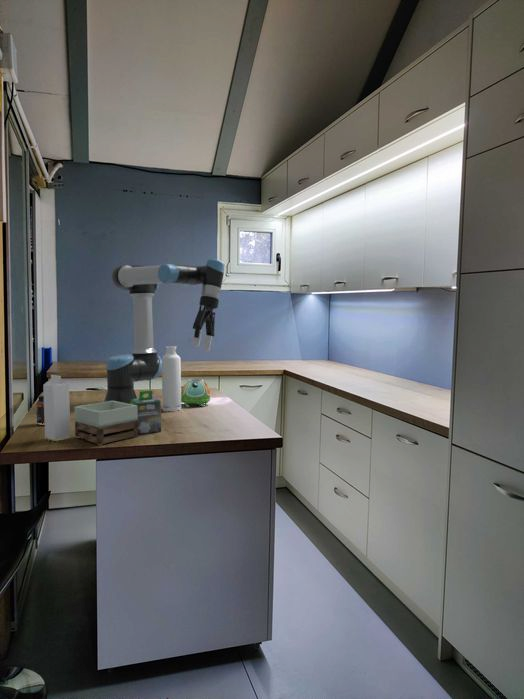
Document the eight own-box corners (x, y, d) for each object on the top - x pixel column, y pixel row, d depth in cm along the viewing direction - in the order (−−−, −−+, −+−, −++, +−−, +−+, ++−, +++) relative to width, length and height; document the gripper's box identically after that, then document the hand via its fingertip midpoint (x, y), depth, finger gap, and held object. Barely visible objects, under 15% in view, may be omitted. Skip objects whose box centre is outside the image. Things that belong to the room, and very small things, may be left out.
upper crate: (74, 420, 173) (74, 406, 172) (113, 414, 184) (112, 400, 184) (99, 427, 163) (98, 412, 163) (137, 419, 174) (137, 405, 174)
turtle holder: (172, 403, 239) (172, 378, 238) (210, 402, 240) (210, 377, 239) (169, 408, 226) (169, 382, 225) (210, 407, 228) (210, 381, 227)
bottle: (162, 408, 226) (161, 346, 224) (180, 407, 227) (179, 345, 225) (162, 411, 218) (161, 347, 216) (181, 411, 219) (180, 347, 217)
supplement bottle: (57, 423, 196) (56, 394, 195) (46, 426, 191) (44, 397, 190) (44, 422, 198) (43, 393, 197) (33, 425, 193) (32, 396, 192)
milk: (60, 436, 176) (59, 373, 175) (70, 438, 173) (69, 374, 171) (44, 439, 171) (42, 375, 170) (54, 442, 168) (52, 376, 166)
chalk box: (155, 426, 190) (154, 387, 189) (162, 431, 182) (161, 391, 181) (130, 429, 186) (129, 389, 185) (136, 434, 178) (135, 393, 177)
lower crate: (75, 438, 173) (74, 420, 173) (113, 430, 185) (113, 414, 184) (99, 445, 164) (99, 427, 163) (138, 436, 175) (137, 419, 174)
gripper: (209, 290, 191) (200, 345, 189) (226, 305, 216) (218, 354, 213) (191, 288, 193) (181, 342, 191) (210, 303, 217) (201, 351, 215)
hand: (200, 348), depth 202 cm, fingers open, 13 cm apart
